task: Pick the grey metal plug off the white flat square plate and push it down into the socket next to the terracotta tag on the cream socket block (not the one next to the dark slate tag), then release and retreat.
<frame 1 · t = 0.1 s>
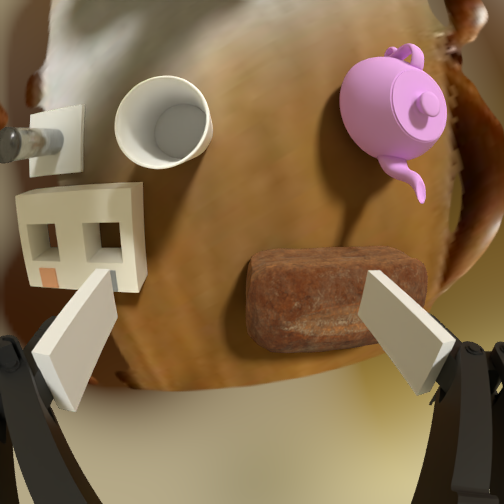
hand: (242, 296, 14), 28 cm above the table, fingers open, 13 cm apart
plug: (53, 141, 33), point 1 cm above the table, touching white flat square plate
teapot: (374, 116, 38), on the table
cup: (182, 131, 36), on the table
socket block: (87, 230, 39), on the table
white flat square plate: (56, 141, 34), on the table
bread: (326, 279, 47), on the table
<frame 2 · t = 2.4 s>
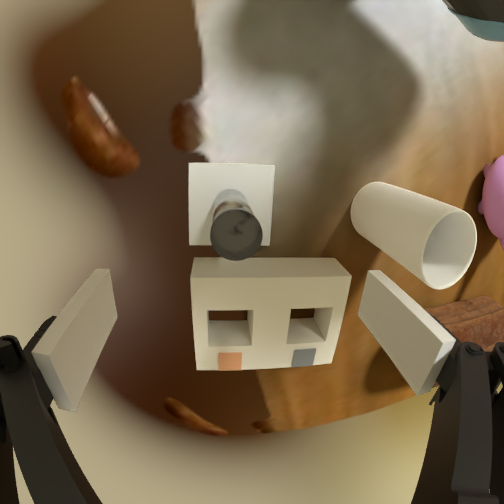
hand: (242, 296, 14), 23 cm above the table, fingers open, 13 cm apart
plug: (230, 205, 34), point 1 cm above the table, touching white flat square plate
teapot: (492, 196, 39), on the table
cup: (375, 210, 38), on the table
socket block: (263, 303, 41), on the table
white flat square plate: (230, 203, 35), on the table
bread: (443, 324, 48), on the table
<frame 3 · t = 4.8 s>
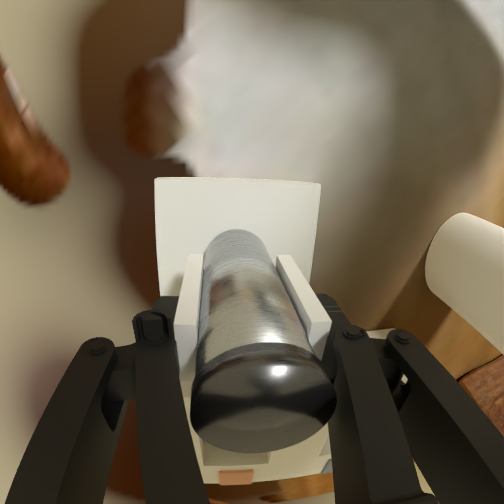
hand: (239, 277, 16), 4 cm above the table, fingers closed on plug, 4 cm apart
plug: (236, 259, 18), point 1 cm above the table, touching white flat square plate, gripper
cup: (454, 255, 22), on the table
socket block: (285, 395, 25), on the table
white flat square plate: (235, 254, 19), on the table
bread: (490, 375, 33), on the table
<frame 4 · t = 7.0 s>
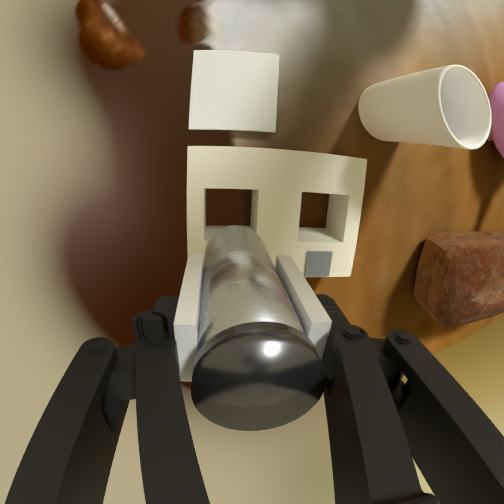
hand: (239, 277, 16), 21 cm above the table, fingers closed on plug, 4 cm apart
plug: (235, 254, 19), point 17 cm above the table, touching gripper
teapot: (497, 126, 35), on the table
cup: (383, 112, 33), on the table
socket block: (269, 204, 36), on the table
white flat square plate: (234, 90, 30), on the table
bread: (462, 260, 44), on the table
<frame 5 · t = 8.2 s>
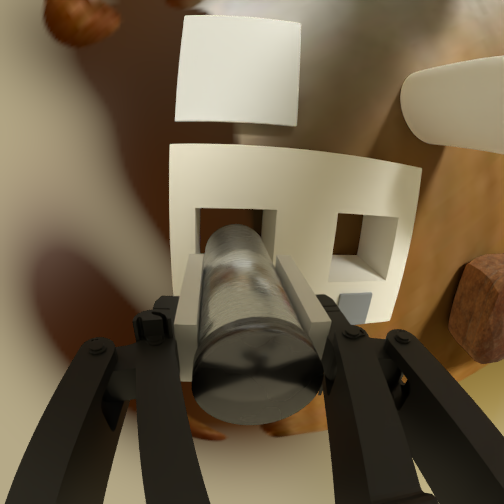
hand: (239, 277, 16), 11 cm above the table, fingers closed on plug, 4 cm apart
plug: (235, 253, 20), point 7 cm above the table, touching gripper
cup: (428, 107, 24), on the table
socket block: (286, 226, 26), on the table
white flat square plate: (239, 68, 21), on the table
bread: (497, 283, 34), on the table
when the fingers open (7 cm above the table, at t = 9.2 s): plug drops 3 cm, resting in socket block.
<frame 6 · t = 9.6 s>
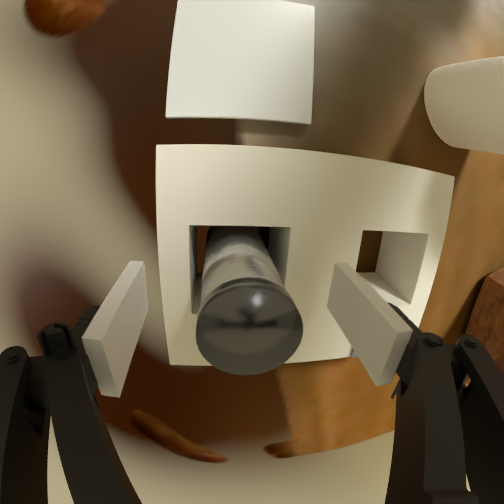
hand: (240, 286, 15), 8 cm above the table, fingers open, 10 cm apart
plug: (233, 240, 22), resting in socket block
cup: (452, 106, 20), on the table
socket block: (297, 241, 23), on the table
white flat square plate: (242, 55, 17), on the table
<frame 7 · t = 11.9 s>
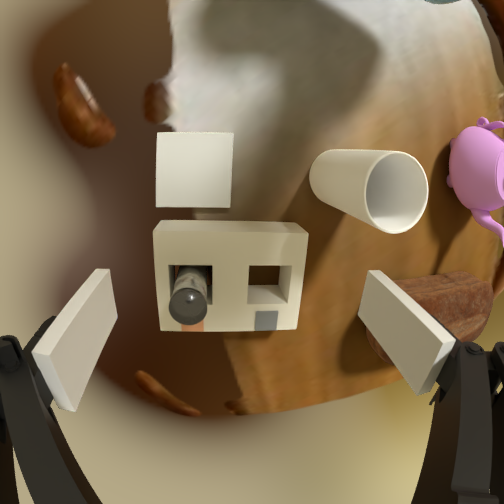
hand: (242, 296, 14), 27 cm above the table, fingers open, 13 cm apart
plug: (193, 267, 42), resting in socket block
teapot: (462, 171, 43), on the table
cup: (335, 177, 40), on the table
socket block: (227, 267, 42), on the table
white flat square plate: (194, 169, 37), on the table
bread: (419, 300, 51), on the table
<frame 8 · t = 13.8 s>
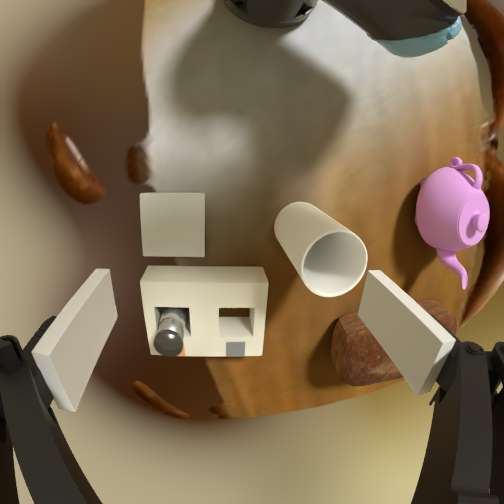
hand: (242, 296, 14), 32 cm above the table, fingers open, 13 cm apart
plug: (176, 302, 49), resting in socket block
teapot: (432, 208, 49), on the table
cup: (298, 226, 47), on the table
socket block: (205, 303, 50), on the table
white flat square plate: (173, 224, 44), on the table
bread: (384, 326, 57), on the table
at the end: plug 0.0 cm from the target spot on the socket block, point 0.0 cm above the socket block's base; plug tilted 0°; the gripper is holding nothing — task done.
